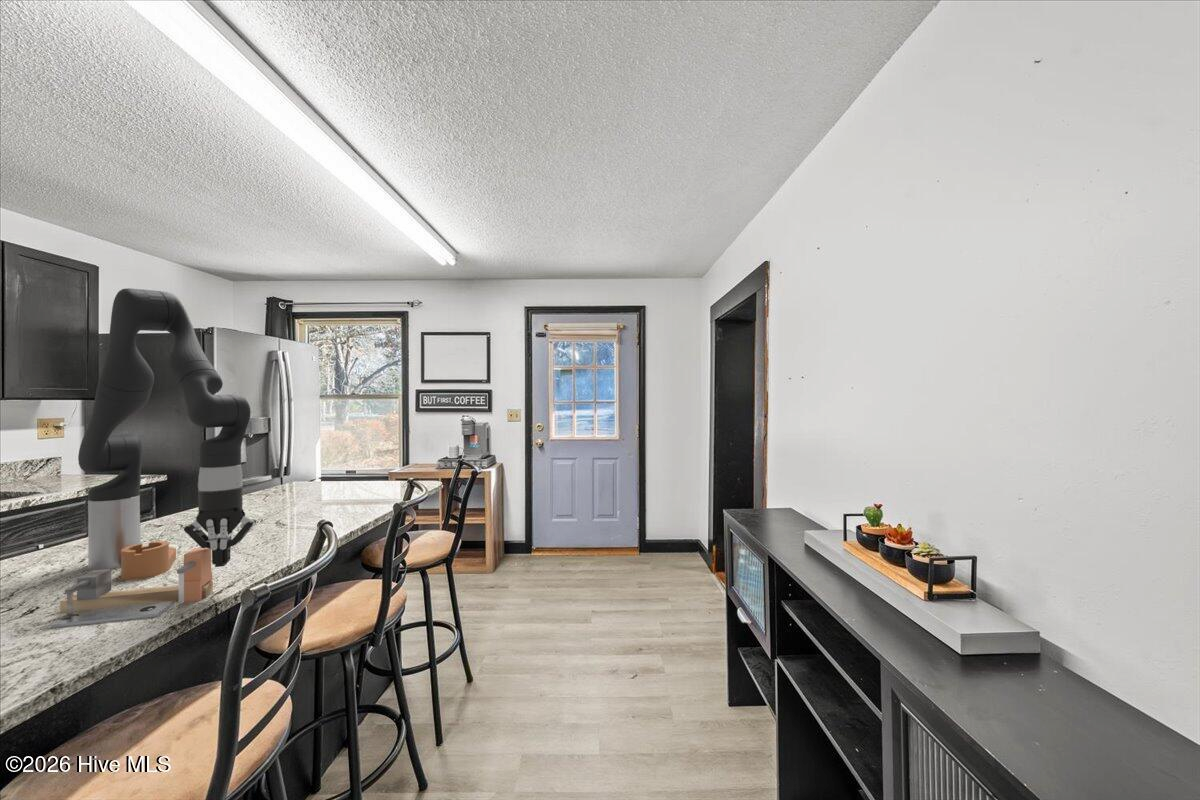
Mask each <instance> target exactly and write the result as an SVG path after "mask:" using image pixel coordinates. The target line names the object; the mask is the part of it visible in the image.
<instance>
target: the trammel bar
mask: <svg viewBox="0 0 1200 800" xmlns="http://www.w3.org/2000/svg"><path fill="white" fill-rule="evenodd" d="M213 585H214V583H213V581H212V582H207V583H206V584H205V585H203V586H202V599H206V598H208V597H209V596H210V595H212V594H213V592H214V591H213V590H214V586H213ZM75 592H76V594H74V593H75ZM64 595H66V598H64V599H62V600H60V601H59V602H60V603H59V605H60V606H59V607H60V609H59V610H60V611H59V612H60V613H64V612H66V616H67V615H72V614H73V612H74V611H79V610H89V609H98V608H108V607H118V606H128V605H137V604H147V603H157V602H167V601H175V602H179V584H177V585H176V584H175V585H165V586H163V585H162V586H155V587H145V588H134V589H133V588H132V589H125V590H124V589H122V590H113V591H112V569H104V570H90V571H89V572H87V573H85V574H82V575H81V576H78V577H76V584H74V585H72V586H70V587H68V588H66V589H64ZM207 596H208V597H207Z"/></svg>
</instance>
